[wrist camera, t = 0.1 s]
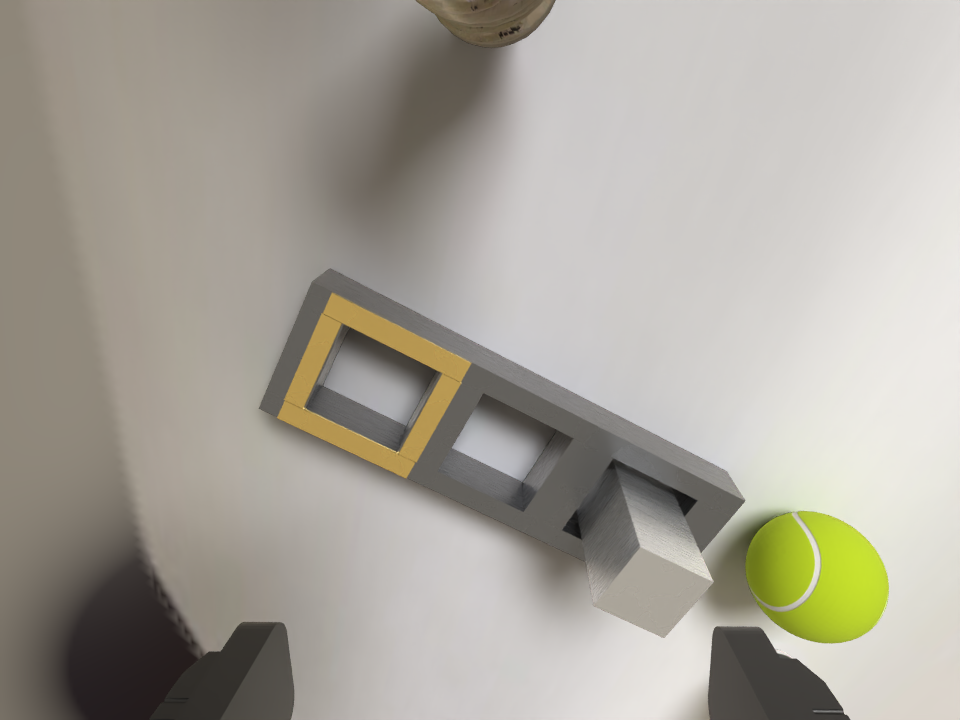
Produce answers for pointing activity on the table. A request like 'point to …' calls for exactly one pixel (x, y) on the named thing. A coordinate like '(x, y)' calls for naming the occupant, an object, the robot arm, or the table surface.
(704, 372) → the table surface
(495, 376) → the grey long flat frame
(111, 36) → the table surface
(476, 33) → the beige stone carving
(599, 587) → the brushed metal square block
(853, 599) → the tennis ball
